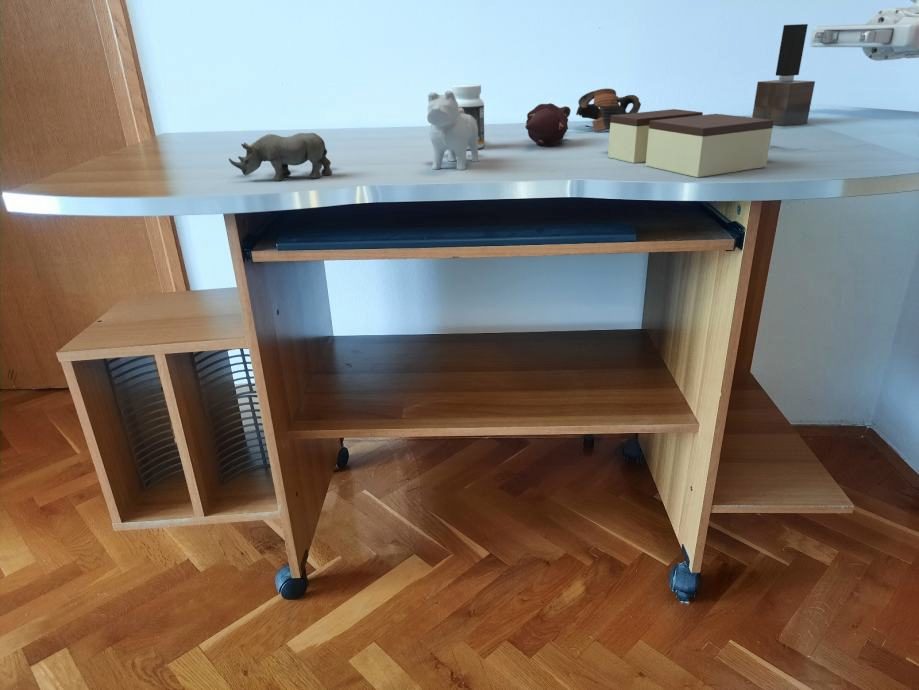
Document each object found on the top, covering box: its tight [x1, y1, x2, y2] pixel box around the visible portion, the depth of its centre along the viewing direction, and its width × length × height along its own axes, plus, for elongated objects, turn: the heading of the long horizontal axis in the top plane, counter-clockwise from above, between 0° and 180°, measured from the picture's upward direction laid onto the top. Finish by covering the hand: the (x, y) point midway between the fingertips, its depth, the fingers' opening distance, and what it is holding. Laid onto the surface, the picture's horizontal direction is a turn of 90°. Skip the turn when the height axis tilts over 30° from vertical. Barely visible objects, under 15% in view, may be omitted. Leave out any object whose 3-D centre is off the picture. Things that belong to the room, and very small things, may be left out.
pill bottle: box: [452, 84, 485, 151], centre depth 107 cm, size 6×6×10 cm
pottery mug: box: [575, 88, 642, 133], centre depth 123 cm, size 12×10×8 cm
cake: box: [645, 113, 774, 178], centre depth 86 cm, size 10×12×6 cm
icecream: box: [525, 102, 571, 147], centre depth 107 cm, size 7×7×15 cm
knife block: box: [751, 79, 816, 128], centre depth 115 cm, size 7×6×8 cm
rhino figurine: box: [228, 132, 333, 182], centre depth 89 cm, size 4×14×6 cm, turn 98°
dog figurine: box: [426, 90, 479, 171], centre depth 92 cm, size 5×13×11 cm, turn 163°
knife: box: [775, 23, 809, 82], centre depth 112 cm, size 2×3×16 cm
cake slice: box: [607, 108, 704, 164], centre depth 95 cm, size 6×12×6 cm, turn 115°
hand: (838, 37), depth 114 cm, fingers open, 8 cm apart
